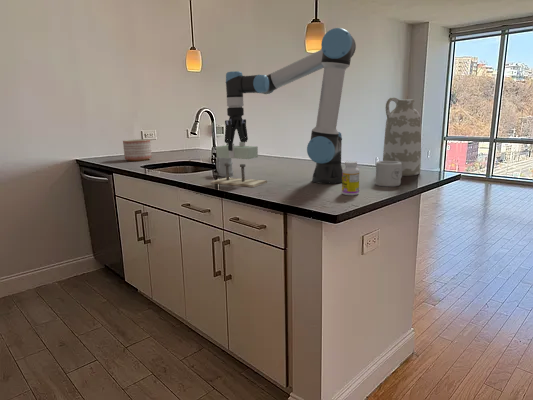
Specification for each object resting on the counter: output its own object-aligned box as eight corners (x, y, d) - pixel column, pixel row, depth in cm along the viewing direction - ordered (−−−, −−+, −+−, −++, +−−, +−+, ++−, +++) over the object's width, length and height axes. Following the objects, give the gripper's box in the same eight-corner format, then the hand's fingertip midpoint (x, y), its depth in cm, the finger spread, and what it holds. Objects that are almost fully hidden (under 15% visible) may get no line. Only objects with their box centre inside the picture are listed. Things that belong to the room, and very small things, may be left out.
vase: (403, 169, 215) (407, 97, 206) (428, 174, 198) (433, 95, 189) (372, 172, 208) (374, 98, 199) (395, 177, 191) (398, 96, 182)
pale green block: (257, 157, 184) (257, 146, 182) (248, 159, 177) (248, 148, 176) (226, 155, 193) (226, 145, 191) (216, 157, 186) (216, 146, 185)
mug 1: (225, 177, 204) (223, 154, 202) (211, 175, 213) (210, 153, 210) (236, 175, 210) (235, 153, 207) (222, 173, 218) (221, 151, 215)
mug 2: (387, 187, 167) (388, 164, 165) (370, 184, 176) (370, 161, 174) (410, 184, 173) (411, 161, 171) (392, 181, 182) (393, 159, 180)
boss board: (267, 182, 186) (266, 163, 184) (253, 187, 176) (252, 167, 174) (226, 179, 198) (225, 161, 196) (211, 183, 188) (210, 164, 186)
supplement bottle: (339, 192, 159) (340, 161, 157) (355, 192, 160) (356, 160, 157) (344, 196, 153) (345, 163, 150) (361, 195, 153) (362, 162, 151)
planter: (120, 161, 286) (117, 141, 283) (132, 158, 305) (131, 139, 301) (144, 161, 283) (142, 141, 280) (156, 158, 301) (154, 139, 298)
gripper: (241, 107, 190) (243, 154, 195) (214, 107, 173) (217, 158, 178) (254, 106, 186) (255, 154, 191) (228, 106, 169) (230, 159, 174)
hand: (237, 156), depth 185 cm, fingers closed on pale green block, 8 cm apart
